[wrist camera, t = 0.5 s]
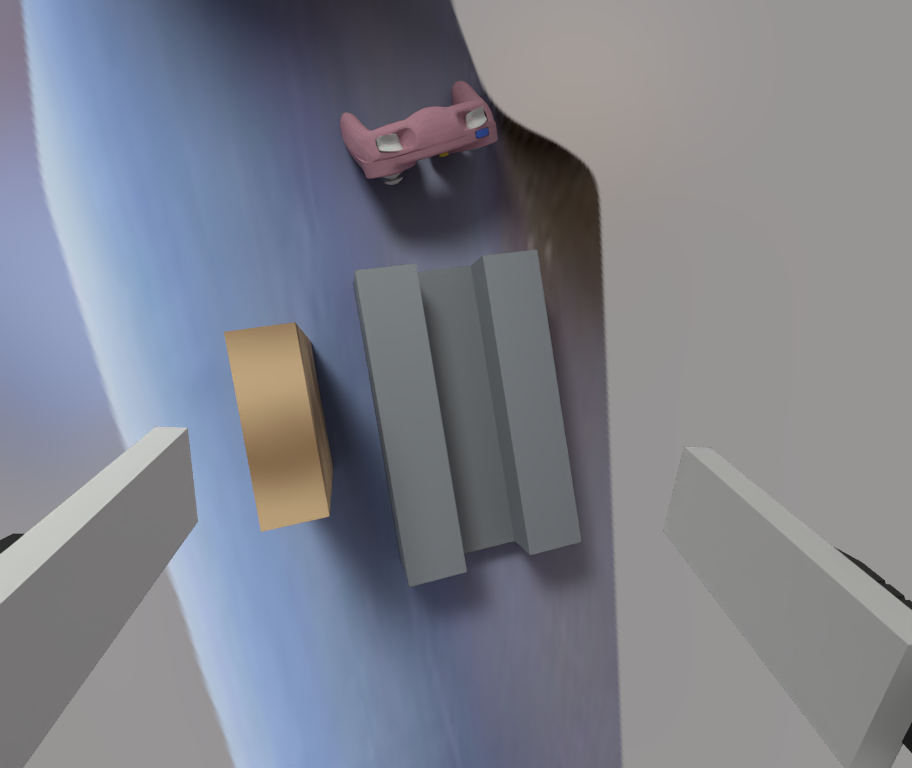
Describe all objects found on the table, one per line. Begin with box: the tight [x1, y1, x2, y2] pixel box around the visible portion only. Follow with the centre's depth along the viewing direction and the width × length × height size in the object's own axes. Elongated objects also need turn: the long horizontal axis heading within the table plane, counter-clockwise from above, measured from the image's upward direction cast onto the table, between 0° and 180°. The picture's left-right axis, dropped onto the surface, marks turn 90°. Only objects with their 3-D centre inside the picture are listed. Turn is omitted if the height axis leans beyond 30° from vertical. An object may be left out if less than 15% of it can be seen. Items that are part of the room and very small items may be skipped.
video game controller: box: [340, 81, 498, 185], centre depth 33 cm, size 10×5×7 cm, turn 112°
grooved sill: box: [353, 249, 582, 587], centre depth 34 cm, size 20×12×4 cm, turn 10°
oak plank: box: [224, 322, 333, 532], centre depth 28 cm, size 9×3×12 cm, turn 9°
